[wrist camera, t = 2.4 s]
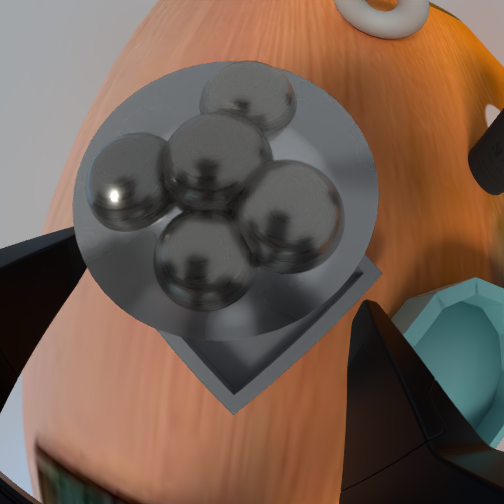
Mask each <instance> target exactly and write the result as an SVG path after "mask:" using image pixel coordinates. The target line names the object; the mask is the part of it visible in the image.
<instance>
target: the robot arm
mask: <svg viewBox="0 0 504 504" xmlns="http://www.w3.org/2000/svg"><path fill="white" fill-rule="evenodd" d="M86 269H87V266H86V264H85V262H84V260H83V257H82V255H81V252H80V249H79V246H78V243H77V239H76V234H75V229H74V227H70V228H67V229H63V230H60V231H56V232H53V233H49V234H46V235H43V236H39V237H36V238H33V239H30V240H26V241H23V242H20V243H17V244H14V245H11V246H8V247H5V248H2V249H0V413H1V411H2V409H3V407H4V405H5V403H6V401H7V399H8V397H9V395H10V393H11V391H12V389H13V387H14V385H15V383H16V381H17V379H18V377H19V376H20V374H21V372H22V370H23V368H24V367H25V365H26V363H27V361H28V360H29V358H30V356H31V355H32V353H33V351H34V349H35V348H36V346H37V344H38V343H39V341H40V340H41V338H42V336H43V335H44V333H45V332H46V330H47V328H48V327H49V325H50V324H51V322H52V321H53V319H54V318H55V316H56V315H57V313H58V312H59V310H60V309H61V307H62V306H63V304H64V303H65V301H66V300H67V298H68V297H69V296H70V294H71V293H72V291H73V290H74V288H75V287H76V285H77V284H78V282H79V280H80V279H81V277H82V275H83V274H84V272H85V270H86ZM0 504H42V503H40V502H39V501H38V500H36V499H35V498H33V497H32V496H30V495H29V494H28V493H27V492H25V491H24V490H23V489H21V488H20V487H19V486H17V485H16V484H15V483H14V482H12V481H11V480H10V479H9V478H8V477H6V476H5V475H4V474H3V473H2V472H1V471H0ZM339 504H504V452H502V451H499V450H496V449H494V448H492V447H491V446H489V445H488V444H487V443H485V442H484V441H483V439H482V438H481V437H480V436H479V434H478V433H477V432H476V431H475V429H474V428H473V427H472V426H471V424H470V423H469V422H468V421H467V419H466V418H465V417H464V416H463V414H462V413H461V412H460V411H459V409H458V408H457V407H456V406H455V404H454V403H453V402H452V401H451V399H450V398H449V396H448V395H447V394H446V392H445V391H444V390H443V388H442V387H441V385H440V384H439V383H438V381H437V380H435V377H434V376H433V374H432V373H431V372H430V370H429V369H428V368H427V366H426V365H425V364H424V362H423V361H422V359H421V358H420V357H419V355H418V354H417V353H416V351H415V350H414V349H413V348H412V346H411V345H410V344H409V342H408V341H407V340H406V338H405V337H404V336H403V334H402V333H401V332H400V331H399V329H398V328H397V327H396V326H395V324H394V323H393V322H392V320H391V319H390V318H389V317H388V315H387V314H386V313H385V312H384V310H383V309H382V308H381V307H380V305H379V304H378V303H377V302H374V301H370V300H364V301H363V302H362V304H361V306H360V308H359V310H358V311H357V313H356V315H355V317H354V319H353V322H352V328H351V339H350V348H349V357H348V367H347V412H346V433H345V449H344V462H343V474H342V484H341V493H340V500H339Z"/></svg>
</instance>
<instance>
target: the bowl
mask: <svg viewBox="0 0 504 504" xmlns="http://www.w3.org/2000/svg"><path fill="white" fill-rule="evenodd" d="M391 320H392V322H393V323H394V324H395V326H396V327H397V328H398V329H399V331H400V332H401V333H402V334H403V336H404V337H405V338H406V340H407V341H408V342H409V344H410V345H411V346H412V348H413V349H414V350H415V351H416V353H417V354H418V355H419V357H420V358H421V359H422V361H423V362H424V364H425V365H426V366H427V368H428V369H429V370H430V372H431V373H432V374H433V376H434V377H435V380H437V381H438V383H439V384H440V385H441V387H442V388H443V390H444V391H445V392H446V394H447V395H448V396H449V398H450V399H451V401H452V402H453V403H454V404H455V406H456V407H457V408H458V409H459V411H460V412H461V413H462V414H463V416H464V417H465V418H466V419H467V421H468V422H469V423H470V424H471V426H472V427H473V428H474V429H475V431H476V432H477V433H478V434H479V436H480V437H481V438H482V439H483V441H484V442H485V443H487V444H488V445H489V446H491V447H492V448H494V449H495V448H496V447H497V445H498V444H499V443H500V441H501V440H502V439H503V437H504V289H503V288H501V287H499V286H496V285H494V284H491V283H489V282H487V281H484V280H482V279H480V278H477V277H474V278H471V279H467V280H463V281H460V282H456V283H452V284H449V285H445V286H442V287H440V288H437V289H434V290H431V291H429V292H426V293H423V294H420V295H417V296H414V297H411V298H408V299H407V300H406V301H405V303H404V304H403V305H402V306H401V307H400V309H399V310H398V311H397V312H396V313H395V315H394V316H393V317H392V318H391Z"/></svg>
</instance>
